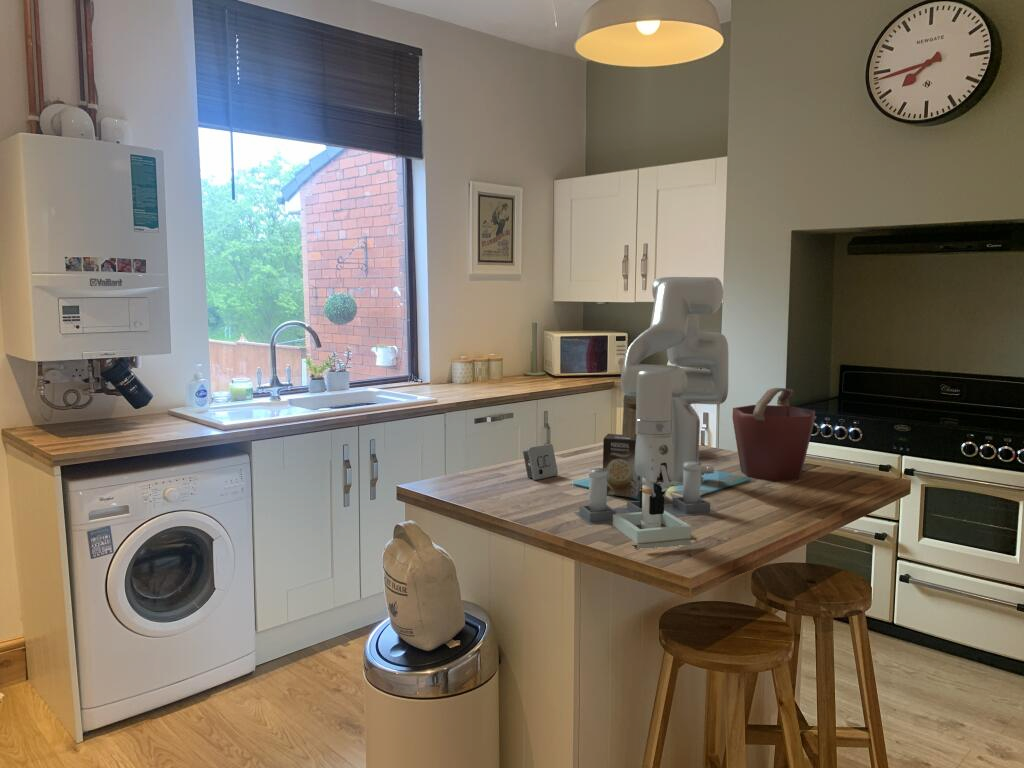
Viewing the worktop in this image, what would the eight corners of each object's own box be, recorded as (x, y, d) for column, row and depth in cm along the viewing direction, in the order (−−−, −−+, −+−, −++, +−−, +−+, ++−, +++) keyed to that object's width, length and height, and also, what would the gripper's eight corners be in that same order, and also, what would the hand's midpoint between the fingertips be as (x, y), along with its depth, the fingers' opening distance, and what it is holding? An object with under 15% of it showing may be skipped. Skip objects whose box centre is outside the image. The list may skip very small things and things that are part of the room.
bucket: (766, 461, 241) (769, 381, 238) (832, 475, 223) (837, 389, 220) (715, 473, 226) (718, 388, 223) (782, 488, 209) (786, 396, 205)
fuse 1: (602, 513, 181) (603, 467, 179) (609, 518, 177) (610, 471, 175) (585, 515, 180) (586, 468, 178) (592, 520, 176) (593, 472, 174)
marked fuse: (655, 523, 170) (656, 474, 169) (664, 529, 166) (665, 478, 165) (637, 524, 169) (638, 475, 168) (646, 530, 165) (647, 480, 164)
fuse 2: (694, 505, 188) (695, 460, 186) (703, 510, 184) (705, 464, 182) (678, 506, 186) (680, 462, 185) (687, 511, 182) (688, 465, 181)
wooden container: (658, 456, 248) (659, 388, 245) (614, 451, 255) (616, 385, 252) (673, 448, 260) (675, 383, 258) (631, 443, 268) (633, 380, 265)
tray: (663, 527, 176) (663, 509, 175) (690, 544, 164) (691, 526, 163) (612, 531, 172) (613, 514, 172) (637, 550, 160) (637, 531, 160)
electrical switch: (534, 481, 217) (532, 448, 216) (522, 479, 220) (520, 447, 220) (558, 476, 223) (556, 443, 222) (546, 474, 227) (544, 442, 226)
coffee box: (600, 499, 198) (601, 437, 196) (606, 493, 204) (607, 433, 202) (636, 503, 195) (637, 440, 193) (640, 496, 201) (642, 435, 199)
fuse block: (695, 507, 191) (695, 493, 191) (716, 519, 181) (717, 504, 181) (573, 518, 182) (573, 503, 182) (589, 531, 173) (589, 516, 172)
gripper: (688, 433, 158) (686, 520, 160) (651, 419, 174) (649, 499, 176) (655, 435, 156) (653, 523, 158) (620, 421, 172) (619, 501, 174)
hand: (651, 510), depth 167 cm, fingers closed on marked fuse, 4 cm apart
